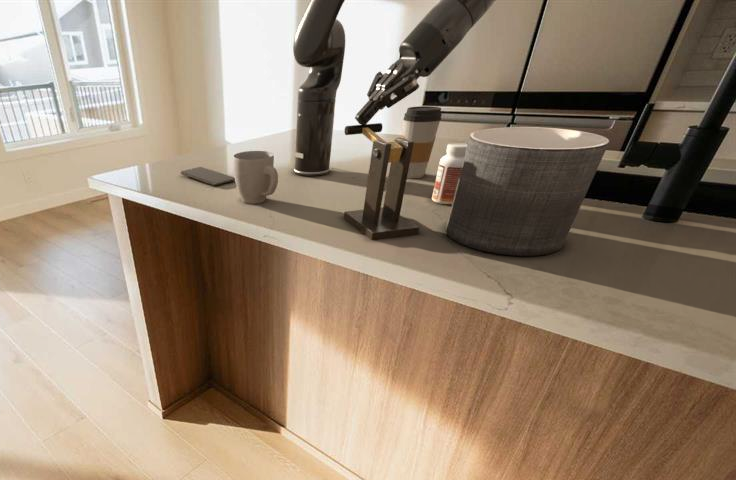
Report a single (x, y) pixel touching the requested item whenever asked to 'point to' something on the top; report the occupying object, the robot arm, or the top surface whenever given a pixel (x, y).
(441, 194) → the pill bottle
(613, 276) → the top surface
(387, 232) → the lever stand
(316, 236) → the top surface
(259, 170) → the mug
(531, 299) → the top surface
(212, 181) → the smartphone
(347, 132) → the lever
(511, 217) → the planter
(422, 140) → the coffee cup
